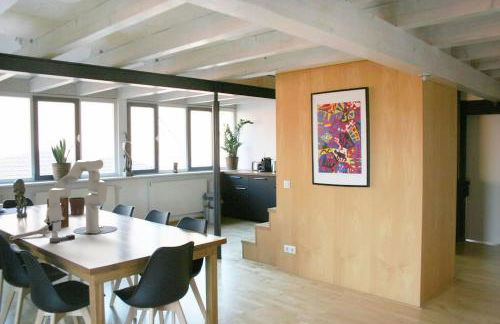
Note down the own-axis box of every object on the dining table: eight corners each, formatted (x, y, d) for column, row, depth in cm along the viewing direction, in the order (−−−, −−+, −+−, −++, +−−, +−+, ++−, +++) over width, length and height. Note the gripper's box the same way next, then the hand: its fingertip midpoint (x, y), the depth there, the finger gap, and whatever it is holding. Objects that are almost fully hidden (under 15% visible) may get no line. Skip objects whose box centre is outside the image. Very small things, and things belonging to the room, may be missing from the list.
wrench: (10, 243, 313) (52, 233, 332) (10, 244, 311) (53, 234, 330) (8, 233, 312) (51, 223, 331) (8, 233, 310) (51, 224, 329)
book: (67, 225, 367) (67, 197, 366) (69, 226, 363) (69, 197, 362) (47, 227, 357) (47, 198, 355) (49, 228, 352) (48, 199, 351)
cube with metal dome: (56, 229, 310) (56, 219, 309) (60, 230, 306) (60, 220, 306) (48, 231, 305) (48, 220, 304) (53, 232, 301) (53, 221, 301)
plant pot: (83, 212, 437) (83, 196, 436) (88, 214, 424) (88, 198, 424) (66, 213, 426) (66, 197, 426) (71, 215, 414) (71, 199, 413)
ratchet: (70, 237, 320) (70, 228, 320) (76, 238, 317) (76, 229, 316) (47, 242, 305) (47, 232, 305) (53, 243, 301) (53, 233, 301)
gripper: (62, 203, 314) (62, 227, 315) (40, 206, 300) (40, 231, 300) (68, 204, 310) (68, 228, 311) (46, 207, 295) (46, 232, 296)
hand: (54, 229), depth 305 cm, fingers closed on cube with metal dome, 6 cm apart
